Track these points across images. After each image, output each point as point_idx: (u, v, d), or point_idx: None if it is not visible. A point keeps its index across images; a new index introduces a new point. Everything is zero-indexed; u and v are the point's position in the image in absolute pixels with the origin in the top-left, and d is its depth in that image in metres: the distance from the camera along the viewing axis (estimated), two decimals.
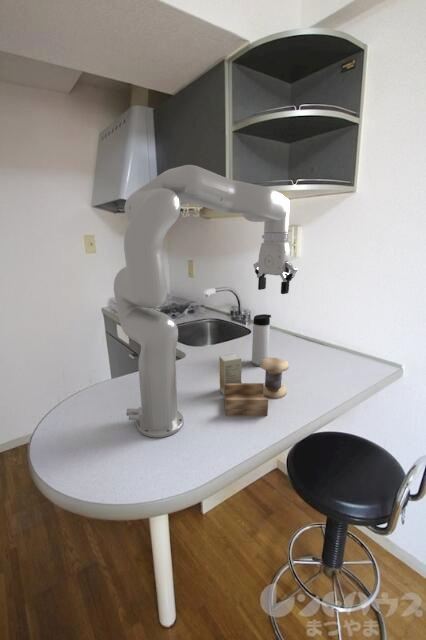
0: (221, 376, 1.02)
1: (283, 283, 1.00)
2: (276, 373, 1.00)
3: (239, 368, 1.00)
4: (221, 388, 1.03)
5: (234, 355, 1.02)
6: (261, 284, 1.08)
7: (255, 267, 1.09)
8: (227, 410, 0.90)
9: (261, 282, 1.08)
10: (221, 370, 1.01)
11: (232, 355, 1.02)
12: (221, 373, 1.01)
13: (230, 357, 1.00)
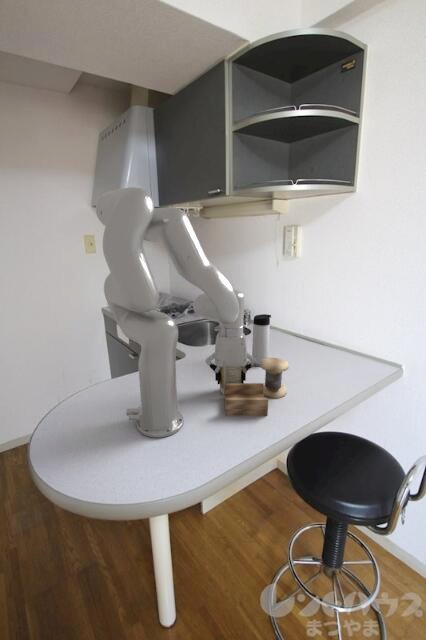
0: (221, 376, 1.02)
1: (243, 374, 1.01)
2: (276, 373, 1.00)
3: (239, 368, 1.00)
4: (221, 388, 1.03)
5: None
6: (219, 378, 1.02)
7: (209, 363, 1.01)
8: (227, 410, 0.90)
9: (219, 376, 1.02)
10: (221, 370, 1.01)
11: None
12: (221, 373, 1.01)
13: None
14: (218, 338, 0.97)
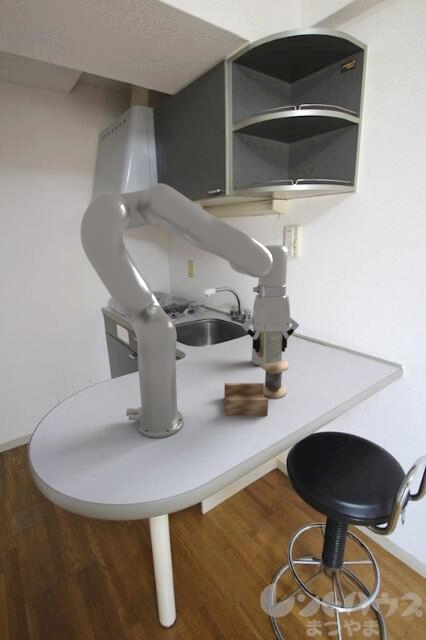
0: (259, 343, 0.91)
1: None
2: (276, 373, 1.00)
3: (280, 333, 0.90)
4: (259, 357, 0.93)
5: None
6: None
7: (246, 328, 0.90)
8: (227, 410, 0.90)
9: None
10: (260, 336, 0.90)
11: None
12: (260, 340, 0.91)
13: None
14: (258, 299, 0.86)
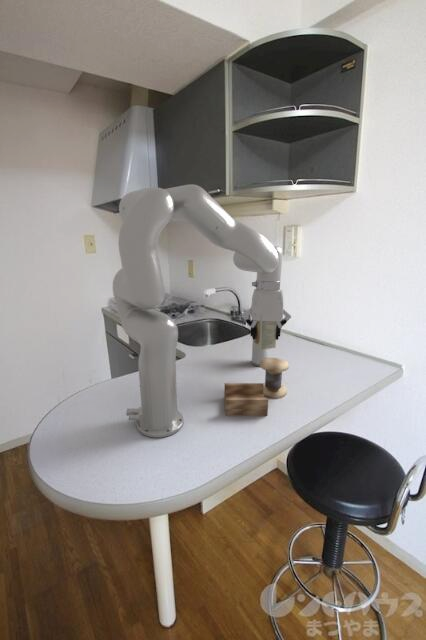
0: (256, 331, 1.05)
1: (278, 329, 1.04)
2: (276, 373, 1.00)
3: (275, 323, 1.03)
4: (256, 343, 1.06)
5: None
6: (255, 333, 1.05)
7: (245, 318, 1.04)
8: (227, 410, 0.90)
9: None
10: (257, 325, 1.04)
11: None
12: (257, 328, 1.04)
13: None
14: (256, 292, 1.00)
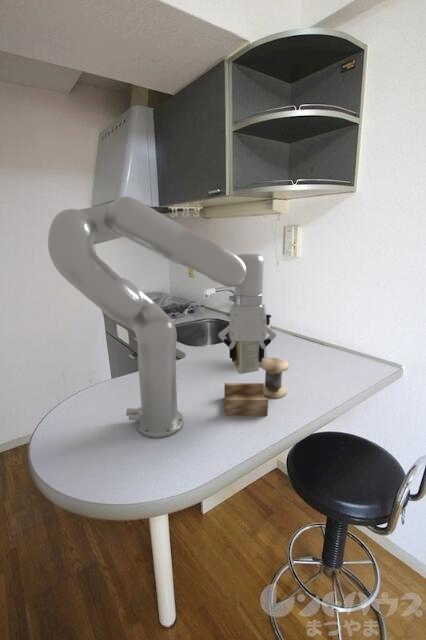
0: (236, 352, 0.90)
1: (261, 350, 0.89)
2: (276, 373, 1.00)
3: (257, 343, 0.88)
4: (236, 366, 0.91)
5: None
6: (234, 355, 0.90)
7: (222, 337, 0.89)
8: (227, 410, 0.90)
9: (234, 353, 0.90)
10: (236, 345, 0.89)
11: None
12: (236, 349, 0.89)
13: None
14: (234, 308, 0.85)
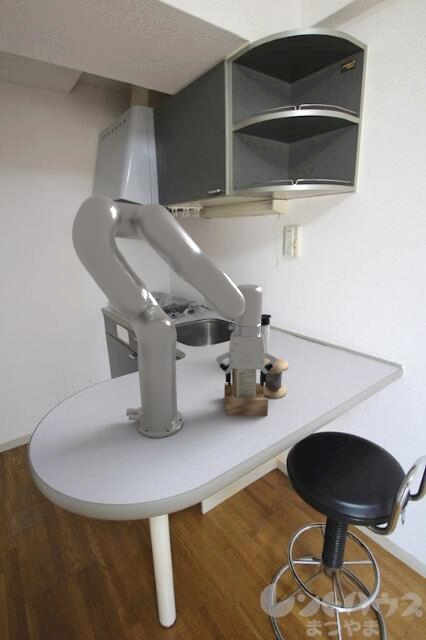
0: (233, 383, 0.93)
1: (263, 375, 0.91)
2: (276, 373, 1.00)
3: (254, 375, 0.91)
4: (234, 396, 0.94)
5: None
6: (230, 379, 0.92)
7: (219, 362, 0.91)
8: (227, 410, 0.90)
9: (230, 377, 0.92)
10: (234, 377, 0.92)
11: None
12: (234, 380, 0.92)
13: None
14: (233, 337, 0.87)
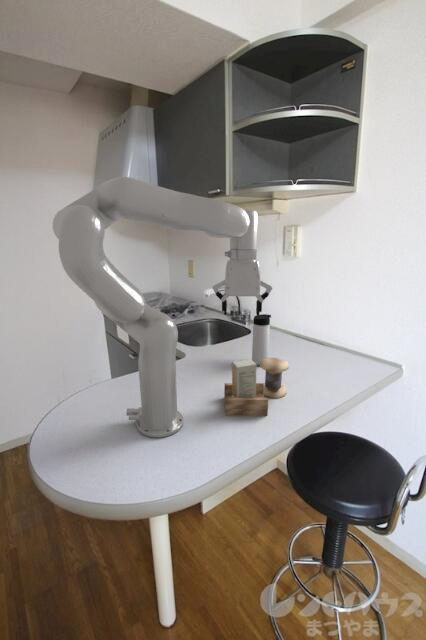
0: (233, 383, 0.93)
1: (259, 303, 0.92)
2: (276, 373, 1.00)
3: (254, 375, 0.91)
4: (234, 396, 0.94)
5: (249, 361, 0.92)
6: (226, 308, 0.93)
7: (215, 290, 0.92)
8: (227, 410, 0.90)
9: (226, 306, 0.93)
10: (234, 377, 0.92)
11: (246, 360, 0.93)
12: (234, 380, 0.92)
13: (244, 363, 0.91)
14: (229, 262, 0.88)
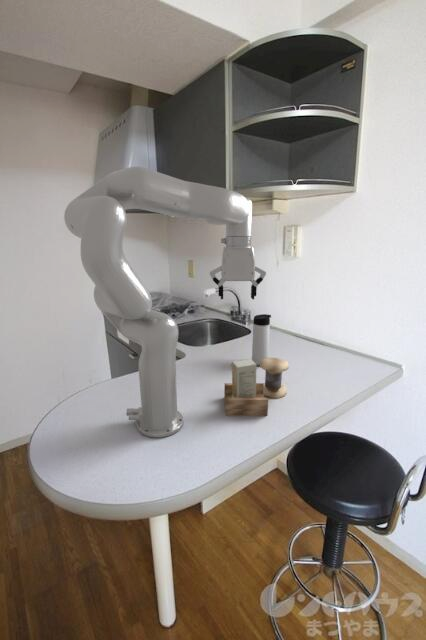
0: (233, 383, 0.93)
1: None
2: (276, 373, 1.00)
3: (254, 375, 0.91)
4: (234, 396, 0.94)
5: (249, 361, 0.92)
6: None
7: (212, 275, 0.97)
8: (227, 410, 0.90)
9: None
10: (234, 377, 0.92)
11: (246, 360, 0.93)
12: (234, 380, 0.92)
13: (244, 363, 0.91)
14: (225, 249, 0.93)
